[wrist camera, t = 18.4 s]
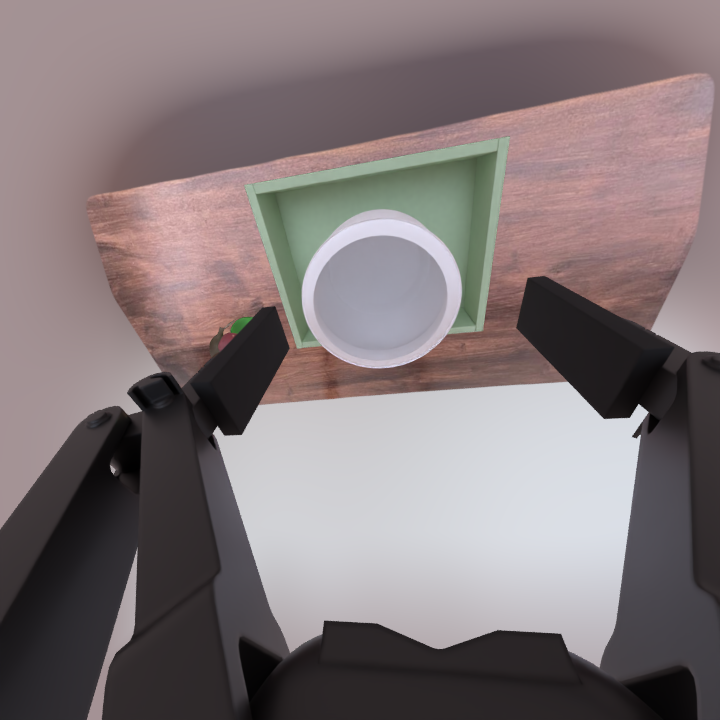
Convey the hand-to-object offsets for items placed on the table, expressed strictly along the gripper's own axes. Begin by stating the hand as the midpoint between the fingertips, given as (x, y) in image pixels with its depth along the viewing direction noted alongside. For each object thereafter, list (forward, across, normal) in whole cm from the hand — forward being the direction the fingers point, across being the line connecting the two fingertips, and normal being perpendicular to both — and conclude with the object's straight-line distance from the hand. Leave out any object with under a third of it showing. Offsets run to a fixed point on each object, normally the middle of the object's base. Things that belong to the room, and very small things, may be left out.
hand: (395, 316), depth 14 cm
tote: (+19, -1, -1) cm, 19 cm away
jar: (+18, -1, -1) cm, 18 cm away
